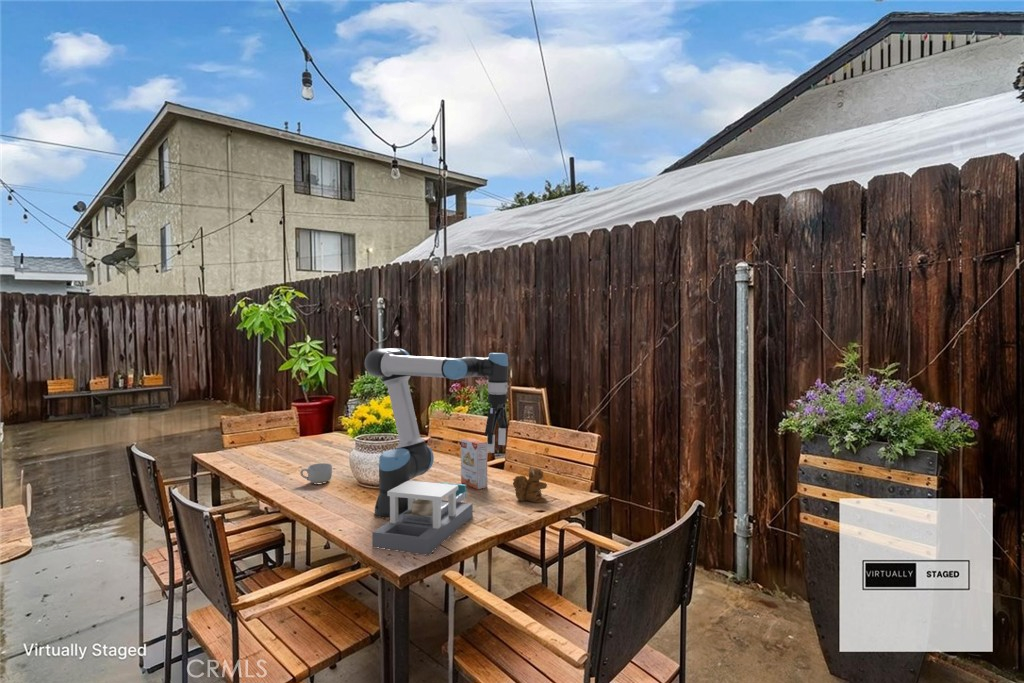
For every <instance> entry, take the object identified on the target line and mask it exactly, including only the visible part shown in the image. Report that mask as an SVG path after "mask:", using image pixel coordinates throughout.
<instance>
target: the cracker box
mask: <svg viewBox="0 0 1024 683" xmlns="http://www.w3.org/2000/svg"><path fill="white" fill-rule="evenodd" d="M460 484H464V485H466V486H468V487H470V488H472V487H473V489H474V488H475V490H477V489H479V490H482V488H483V489H487V488H488V452H487V441H484V440H480V439H477V438H474V437H464V438H461V439H460Z"/></svg>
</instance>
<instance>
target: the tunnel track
mask: <svg viewBox="0 0 1024 683" xmlns="http://www.w3.org/2000/svg"><path fill="white" fill-rule="evenodd" d="M440 483H441V482H438V483H437V482H427V481H426V482H425V481H420V480H419V481H417V480H410V481H406V482H404V483H402V484H401V485H399V486H397V487H395V488H393V489H391V490H389V491H387V496H390V518H389V521H387V522H386V523H384V524H383V525H382V526H380V527H378V528H377V529H375V530H373V531H371V532H372V534H371V536H372V537H371V538H372V545H371V546H372V547H379V548H385V549H384V550H386V549H390V550H389V551H393V550H398V551H397V552H400V551H404V552H403V553H407V552H411V553H410V554H414V553H418V554H417V555H421V554H426V555H425V556H429V554H430V553H431V552H432V551H433V550H434V551H435V550H436V549H437V547H438V546H439V545H440V544H441V543H442V542H443V541H444V540H446V539H447V538H448V537H449V536H450V537H451V536H452V535H453V534H455V533H456V532H457V531H458V530H459V529H461V527H463V526H464V525H465V524H467V522H468V521H469V520H470V518H471V519H472V518H473V516H474V515H473V512H474V510H473V508H474V507H473V506H474V505H473V504H474V503H473V502H462V501H461V502H460V503H458V504H457V505H456V491H457V490H458V485H451V484H440ZM398 497H402V498H408V510H409V509H411V508H412V503H413V502H414V501H416V500H417V499H421V500H431V501H433V523H432V524H431V525H428V524H420V523H412V522H404V521H402V514H403V513H405V512H406V511H408V510H406V511H405V512H403V513H402V514H400V515H398ZM445 499H448V500H445ZM447 503H448V512H447V513H445V514H444V515H443V516H441V507H443V506H444V505H446V504H447ZM463 524H464V525H463ZM462 525H463V526H462ZM456 530H457V531H456ZM455 531H456V532H455ZM454 532H455V533H454ZM450 537H449V538H450ZM449 538H448V539H449ZM448 539H447V540H448ZM447 540H446V541H447ZM444 542H445V541H444ZM444 542H443V543H444ZM443 543H442V544H443ZM442 544H441V545H442ZM441 545H440V546H441ZM440 546H439V547H440ZM439 547H438V548H439ZM379 548H378V549H379ZM435 548H436V549H435ZM434 551H433V552H434ZM433 552H432V553H433ZM432 553H431V554H432ZM431 554H430V555H431Z"/></svg>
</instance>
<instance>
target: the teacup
mask: <svg viewBox="0 0 1024 683" xmlns="http://www.w3.org/2000/svg"><path fill="white" fill-rule="evenodd" d="M304 472H306V473H307V475H304ZM299 473H300V476H301V477H302V478H303V479H306V481H308V482H310V483H312V484H313V483H323V482H327V481H328V482H329V481H331V479H332V476H333V474H332V473H333V465H332V464H330V463H326V462H323V463H321V462H320V463H312V464H310V465H308V466H307V468H305V467H304V468H302V469H301V470H300V472H299ZM328 482H327V483H328Z"/></svg>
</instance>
